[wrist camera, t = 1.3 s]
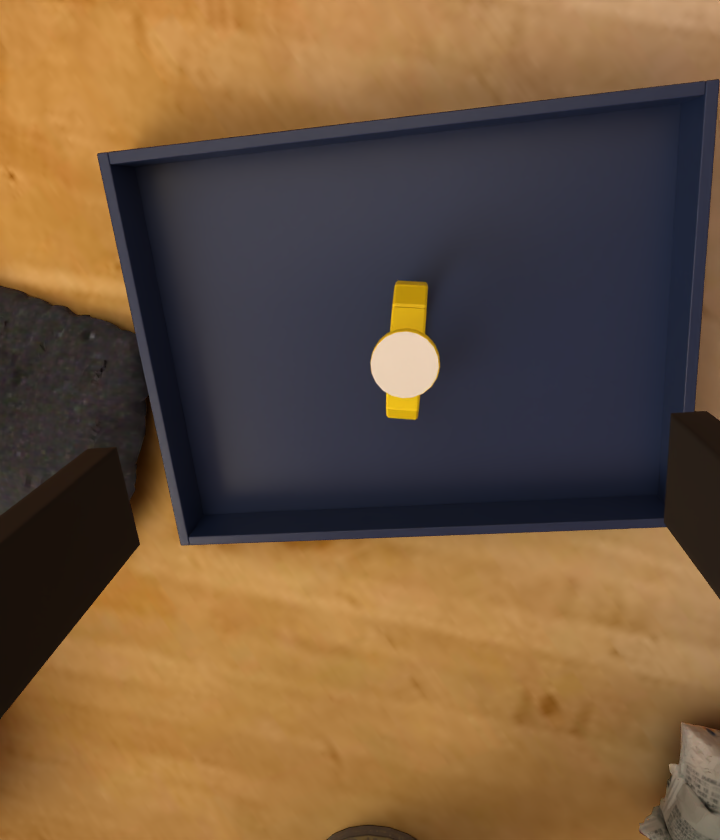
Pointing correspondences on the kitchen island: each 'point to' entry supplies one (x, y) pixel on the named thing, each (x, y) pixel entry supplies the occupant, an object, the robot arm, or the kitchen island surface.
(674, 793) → the packaged food
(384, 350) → the watch
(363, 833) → the thermos
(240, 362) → the tray
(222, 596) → the kitchen island surface
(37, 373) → the dark slate chunk
